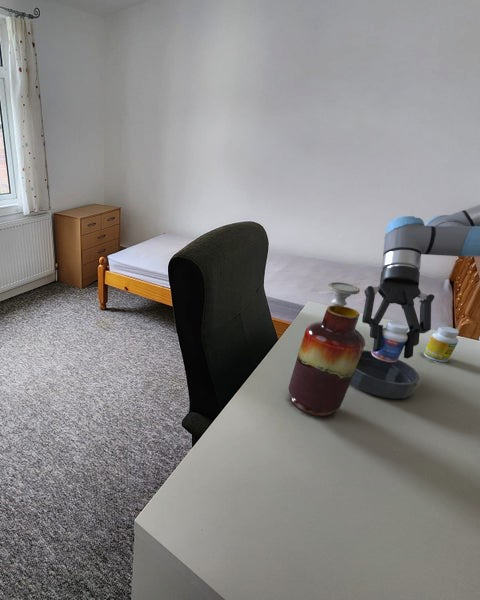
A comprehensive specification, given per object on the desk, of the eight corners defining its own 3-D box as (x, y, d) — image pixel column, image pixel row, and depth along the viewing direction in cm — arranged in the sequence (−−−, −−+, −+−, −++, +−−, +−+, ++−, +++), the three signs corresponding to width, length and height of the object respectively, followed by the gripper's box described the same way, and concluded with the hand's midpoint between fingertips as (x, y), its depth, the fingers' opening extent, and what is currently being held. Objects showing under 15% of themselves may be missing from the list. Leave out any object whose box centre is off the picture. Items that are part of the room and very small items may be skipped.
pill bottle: (377, 361, 87) (391, 328, 83) (366, 350, 91) (379, 318, 87) (402, 364, 86) (417, 330, 81) (390, 352, 90) (404, 320, 86)
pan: (380, 364, 98) (387, 349, 96) (428, 400, 85) (436, 384, 82) (327, 364, 99) (332, 350, 97) (365, 400, 85) (372, 384, 83)
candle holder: (303, 337, 113) (320, 280, 104) (332, 338, 111) (352, 281, 103) (315, 351, 105) (335, 291, 96) (347, 353, 103) (369, 293, 95)
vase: (347, 423, 78) (388, 325, 67) (294, 417, 80) (326, 320, 69) (325, 392, 88) (358, 301, 77) (279, 387, 90) (305, 298, 79)
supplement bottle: (428, 350, 104) (441, 323, 100) (451, 359, 100) (466, 331, 96) (419, 355, 102) (432, 327, 98) (442, 364, 98) (457, 336, 94)
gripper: (438, 282, 89) (433, 366, 83) (352, 272, 97) (342, 348, 92) (455, 269, 83) (451, 360, 77) (362, 259, 91) (351, 340, 85)
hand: (392, 353), depth 84 cm, fingers closed on pill bottle, 5 cm apart
